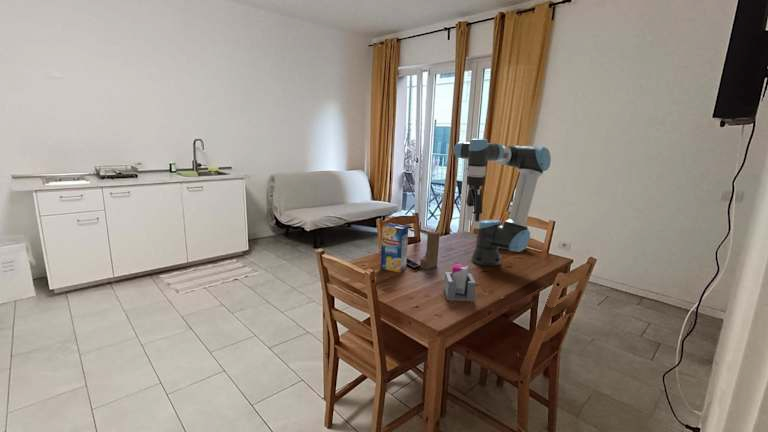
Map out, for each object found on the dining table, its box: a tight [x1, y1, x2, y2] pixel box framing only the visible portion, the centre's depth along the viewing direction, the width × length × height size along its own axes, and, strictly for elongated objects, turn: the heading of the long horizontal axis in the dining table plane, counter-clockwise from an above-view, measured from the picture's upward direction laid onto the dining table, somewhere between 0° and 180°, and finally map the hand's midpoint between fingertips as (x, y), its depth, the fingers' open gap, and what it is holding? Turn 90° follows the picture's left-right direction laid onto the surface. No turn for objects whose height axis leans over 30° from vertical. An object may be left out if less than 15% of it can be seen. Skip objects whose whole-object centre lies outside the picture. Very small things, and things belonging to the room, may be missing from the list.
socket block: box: [443, 271, 477, 302], centre depth 155 cm, size 11×11×8 cm
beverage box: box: [380, 222, 409, 273], centre depth 182 cm, size 7×11×22 cm, turn 62°
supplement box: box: [451, 263, 469, 295], centre depth 156 cm, size 6×6×12 cm
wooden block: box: [419, 230, 441, 271], centre depth 187 cm, size 9×4×18 cm, turn 135°
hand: (472, 224), depth 162 cm, fingers open, 13 cm apart
